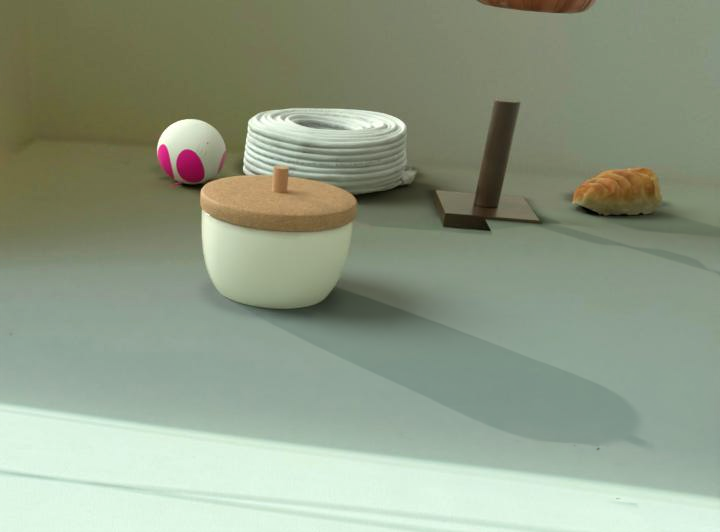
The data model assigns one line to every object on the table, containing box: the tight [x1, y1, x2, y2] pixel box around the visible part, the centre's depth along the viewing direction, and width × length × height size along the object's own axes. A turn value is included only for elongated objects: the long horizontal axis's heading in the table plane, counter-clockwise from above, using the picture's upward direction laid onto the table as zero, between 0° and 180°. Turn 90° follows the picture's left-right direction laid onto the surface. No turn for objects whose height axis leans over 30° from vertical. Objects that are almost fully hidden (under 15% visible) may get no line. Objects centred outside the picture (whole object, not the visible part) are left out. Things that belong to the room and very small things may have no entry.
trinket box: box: [199, 166, 358, 310], centre depth 64 cm, size 11×11×9 cm
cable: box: [242, 107, 418, 196], centre depth 97 cm, size 18×18×6 cm
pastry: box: [571, 166, 663, 216], centre depth 96 cm, size 9×7×4 cm
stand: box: [433, 97, 541, 231], centre depth 88 cm, size 9×9×10 cm
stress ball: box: [156, 118, 227, 188], centre depth 94 cm, size 8×8×7 cm
